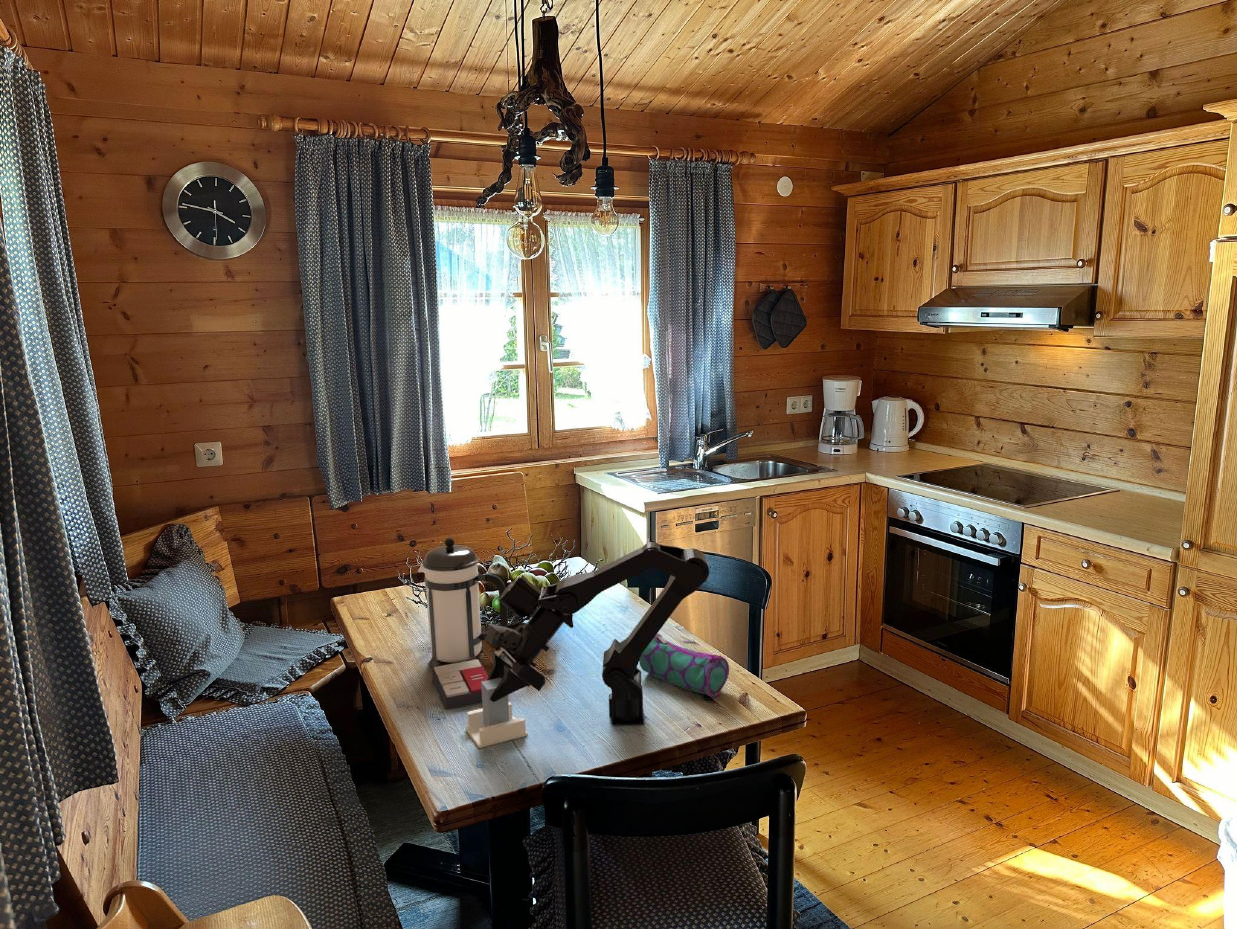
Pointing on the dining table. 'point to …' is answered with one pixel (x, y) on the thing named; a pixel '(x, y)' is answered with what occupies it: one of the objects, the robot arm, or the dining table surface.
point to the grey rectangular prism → (493, 704)
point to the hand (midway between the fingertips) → (488, 696)
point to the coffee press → (456, 602)
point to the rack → (494, 729)
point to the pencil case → (685, 667)
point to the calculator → (459, 683)
